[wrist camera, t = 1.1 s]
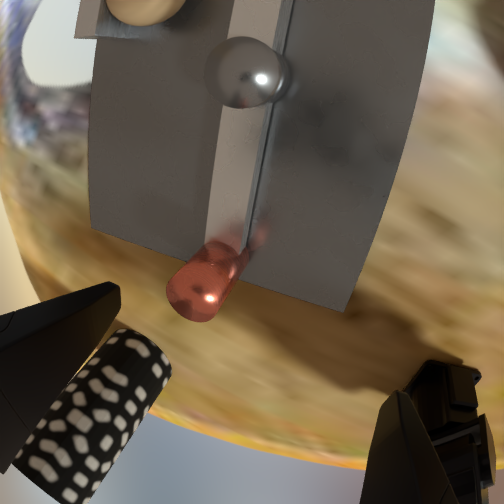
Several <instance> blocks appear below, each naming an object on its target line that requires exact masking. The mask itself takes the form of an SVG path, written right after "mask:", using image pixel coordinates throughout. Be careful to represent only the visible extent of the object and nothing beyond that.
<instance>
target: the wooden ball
mask: <svg viewBox="0 0 504 504" xmlns="http://www.w3.org/2000/svg"><path fill="white" fill-rule="evenodd" d="M185 1H186V0H106V3H107V6H108V8H109V10H110V12H111V13H112V14H113V15H114V16H115V17H116V18H117V19H118V20H120V21H122V22H124V23H126V24H129V25H133V26H151V25H155V24H158V23H161V22H163V21H165V20H167V19H169V18H170V17H172V16H173V15H174V14H175V13H176V12H178V11H179V9H180V8H181V7H182V6H183V4H184V2H185Z"/></svg>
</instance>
